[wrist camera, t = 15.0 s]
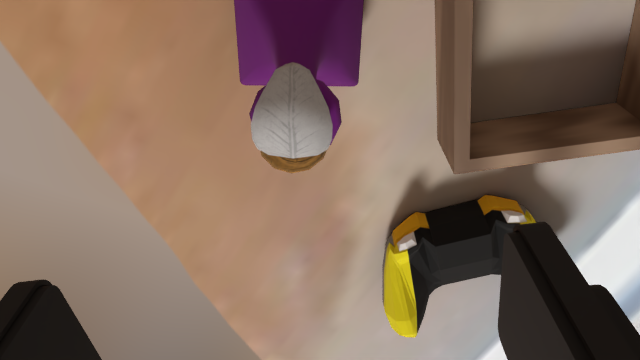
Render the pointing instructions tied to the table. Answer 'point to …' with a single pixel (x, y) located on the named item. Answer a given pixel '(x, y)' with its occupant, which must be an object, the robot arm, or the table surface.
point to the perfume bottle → (297, 73)
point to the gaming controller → (444, 254)
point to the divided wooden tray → (530, 130)
